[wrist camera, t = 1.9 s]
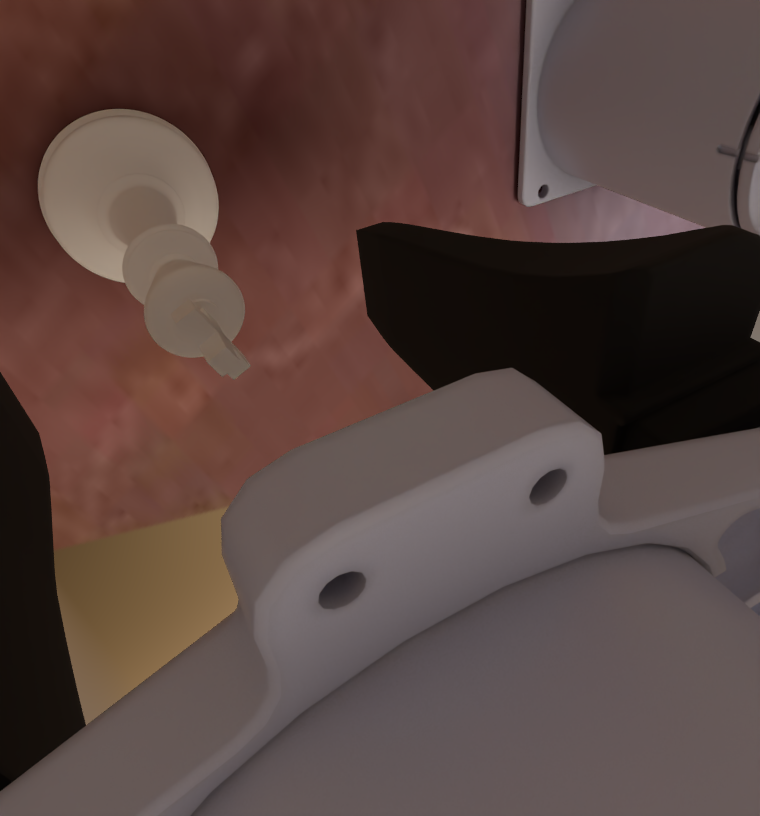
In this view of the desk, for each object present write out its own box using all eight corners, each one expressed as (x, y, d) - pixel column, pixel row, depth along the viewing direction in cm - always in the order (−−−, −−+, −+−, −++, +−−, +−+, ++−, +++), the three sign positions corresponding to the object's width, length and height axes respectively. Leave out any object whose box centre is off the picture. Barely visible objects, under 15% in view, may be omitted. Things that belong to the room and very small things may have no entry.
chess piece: (128, 307, 20) (205, 509, 13) (-6, 183, 16) (-6, 366, 9) (246, 212, 20) (389, 359, 13) (137, 68, 16) (250, 160, 9)
